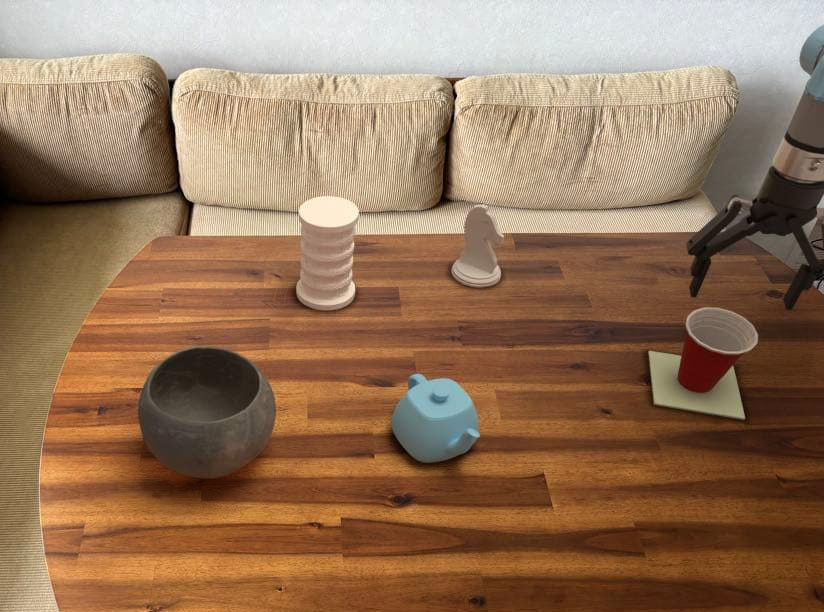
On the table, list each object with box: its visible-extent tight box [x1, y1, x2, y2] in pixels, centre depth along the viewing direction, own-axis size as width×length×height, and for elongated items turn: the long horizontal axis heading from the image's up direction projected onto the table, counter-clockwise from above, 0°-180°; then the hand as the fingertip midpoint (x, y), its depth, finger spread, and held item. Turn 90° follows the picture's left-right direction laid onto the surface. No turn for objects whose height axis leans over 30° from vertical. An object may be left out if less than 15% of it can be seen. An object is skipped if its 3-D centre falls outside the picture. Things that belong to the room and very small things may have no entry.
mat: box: [647, 350, 746, 421], centre depth 132 cm, size 14×14×1 cm
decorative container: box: [295, 195, 360, 311], centre depth 145 cm, size 12×12×18 cm
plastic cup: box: [678, 307, 759, 393], centre depth 127 cm, size 11×11×12 cm
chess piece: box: [450, 203, 505, 289], centre depth 151 cm, size 10×10×15 cm
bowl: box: [137, 345, 277, 479], centre depth 116 cm, size 20×20×15 cm
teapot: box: [390, 373, 481, 463], centre depth 119 cm, size 13×11×18 cm
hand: (739, 298), depth 120 cm, fingers open, 13 cm apart
